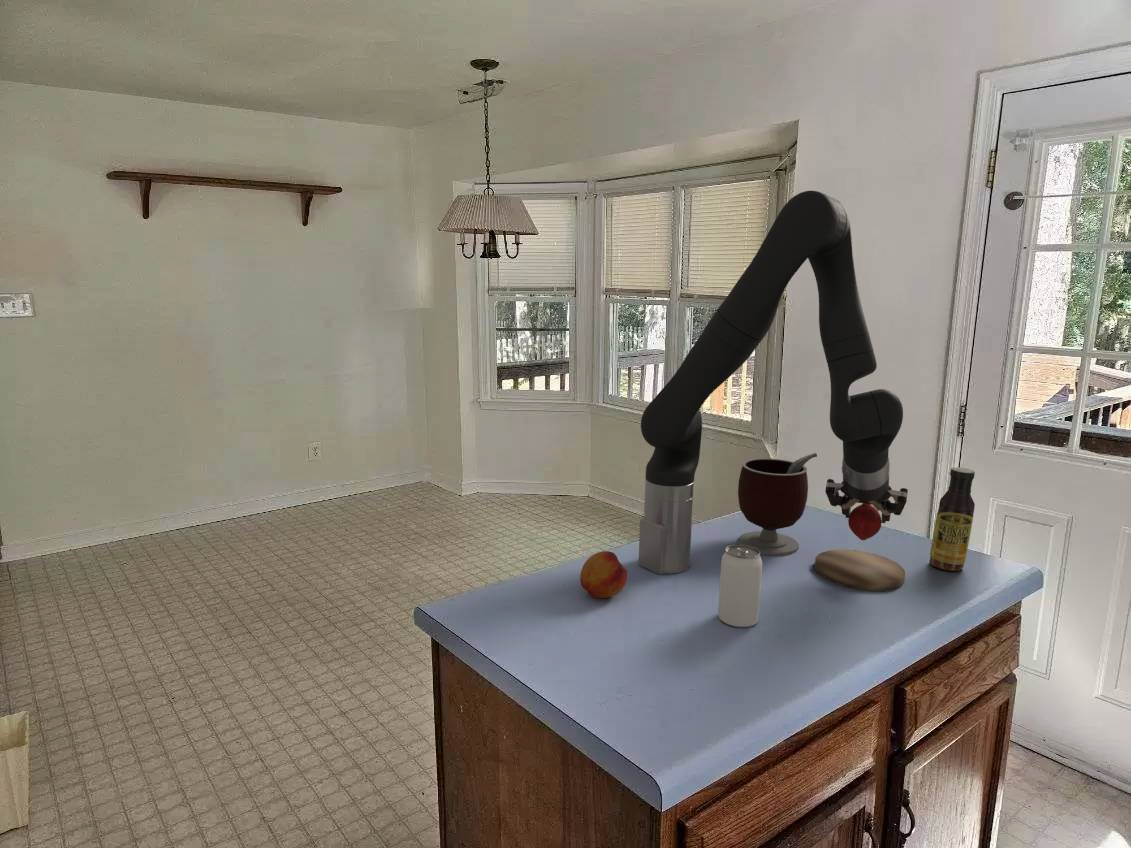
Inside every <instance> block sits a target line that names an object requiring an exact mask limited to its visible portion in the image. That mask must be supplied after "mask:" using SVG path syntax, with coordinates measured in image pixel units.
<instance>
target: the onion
mask: <svg viewBox="0 0 1131 848" xmlns="http://www.w3.org/2000/svg"><path fill="white" fill-rule="evenodd" d="M847 520H848V521H847V523H848V527H849V529H850V530H851V532H852V533H853V534H854V535H855V536H856V537H857V538H858V539H859V540H861V541H866V540H869V539H870V538H872V537H874V536H875V535H877V534H878V533H879V531H880V530H881V527H882V524H883V523H882V515H881V513H880V512H879V511H878V510H877V509H876V508H875V507H874V506H873V505H871V504H866V503H860V505H857V506H856V507H854V508H853V509H852V510H851V512H850V515H849V518H848V519H847Z"/></svg>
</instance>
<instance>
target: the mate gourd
mask: <svg viewBox="0 0 1131 848" xmlns="http://www.w3.org/2000/svg"><path fill="white" fill-rule="evenodd" d="M817 457H818V455H817V452H813V453H810V454H807V455H804V456H803V457H799V458H798V459H796V460H795V461H793V460H792V461H791V460H786V459H780V458H766V457H764V458H763V457H762V458H751V459H747V460H745V461H743V462H742V466H741V469H740V474H739V478H738V488H737V497H738V506H739V509H740V511H741V513H742V515H743V516H744V517H745V519H746V520H747V522H749V523H750V524H753V525H755V526H758V527H760V528H762V530H761V531H759V530H758V531H757V530H755V531H747V532H745V533H742V534H740V535H739V537H738V545H747V546H751V547H754V548H756V549H758V550H759V551H760V555H767V556H776V557H777V556H779V557H780V555H781V556H789V555H793V554H795V553H797V552H798V551H797V550H799V549H798V548H799V547H800V544H799V542H798V540H796V539H795V538H793V537H791V536H789V535H786V534H783V533H778V532H777V530H781V529H784V528H790V527H792V526H794V525H795V524H796V523H797V522H798V521H799V520H800V518H802V516H803V515H804V511H805V509H806V505H807V502H808V501H807V500H808V494H809V483H808V482H809V481H808V473H807V472H808V469H807V467H806V466H805V465H806V463H808V462H809V461H810V460H811V459H813V458H817ZM796 551H797V552H796ZM794 552H795V553H794ZM792 553H793V554H792Z"/></svg>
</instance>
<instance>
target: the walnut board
mask: <svg viewBox="0 0 1131 848" xmlns="http://www.w3.org/2000/svg"><path fill="white" fill-rule="evenodd" d="M814 569H815V572H816V573H817V574H819V576H820V577H822V578H824V579H825V580H827V581H830V582H831V583H833V584H836V585H839V586H843V587H845V588H850V589H851V588H852V589H855V590H861V591H869V592H870V591H871V592H875V591H876V592H880V591H881V592H882V591H883V592H885V591H891V590H895V589H898V588H900V587H901V586H903V585H904V583H905V578H906V571H905V569H904V567H903V566H901V565H900V564H899V563H898V562H896V561H894V560H892V559H890V558H887V557H886V556H883V555H879V554H877V553H872V552H867V551H862V550H856V549H832V550H826V551H823V552H820V553H818V554H817V555H815V561H814Z"/></svg>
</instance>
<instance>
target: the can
mask: <svg viewBox="0 0 1131 848" xmlns="http://www.w3.org/2000/svg"><path fill="white" fill-rule="evenodd" d="M762 571H763V560H762V557H761V554H760V551H759V550H758V549H756V548H754V547H751V546H747V545H740V544H732V545H728V546H726V547H725V548H724V553H723V554H722V557H721V563H720V578H719V579H720V580H719V595H718V608H717V609H718V611H717V616H718V618H719V620H720V621H721V622H722V623H723V622H724V623H723V624H725V625H727V626H730V627H734V628H738V627H739V628H740V629H745V628H751V627H753V626H754V625H756V624H757V623H758V620H759V614H760V613H759V611H760V601H761V599H760V598H761V587H762V575H763V572H762ZM739 628H738V629H739Z"/></svg>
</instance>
